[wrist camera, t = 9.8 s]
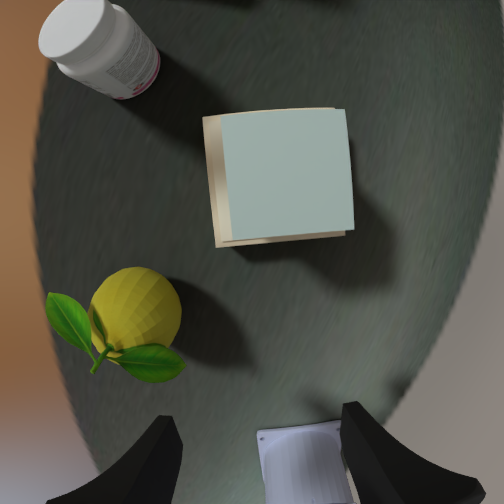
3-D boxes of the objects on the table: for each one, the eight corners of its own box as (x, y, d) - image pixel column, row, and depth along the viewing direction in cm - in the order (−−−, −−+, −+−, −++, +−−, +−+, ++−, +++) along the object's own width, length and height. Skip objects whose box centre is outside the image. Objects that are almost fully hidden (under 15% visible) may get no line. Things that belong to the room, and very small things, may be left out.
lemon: (101, 260, 20) (14, 316, 10) (171, 235, 20) (103, 287, 10) (136, 339, 22) (80, 426, 12) (204, 323, 21) (175, 422, 11)
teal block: (319, 211, 17) (354, 229, 11) (239, 218, 17) (232, 240, 11) (313, 132, 16) (344, 109, 10) (231, 138, 16) (220, 115, 10)
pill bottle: (158, 33, 16) (113, -29, 8) (166, 88, 17) (115, 38, 9) (98, 55, 16) (35, 12, 8) (103, 109, 18) (30, 81, 9)
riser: (334, 228, 20) (345, 236, 17) (220, 239, 20) (216, 248, 17) (324, 116, 18) (335, 107, 15) (208, 124, 18) (201, 116, 15)
